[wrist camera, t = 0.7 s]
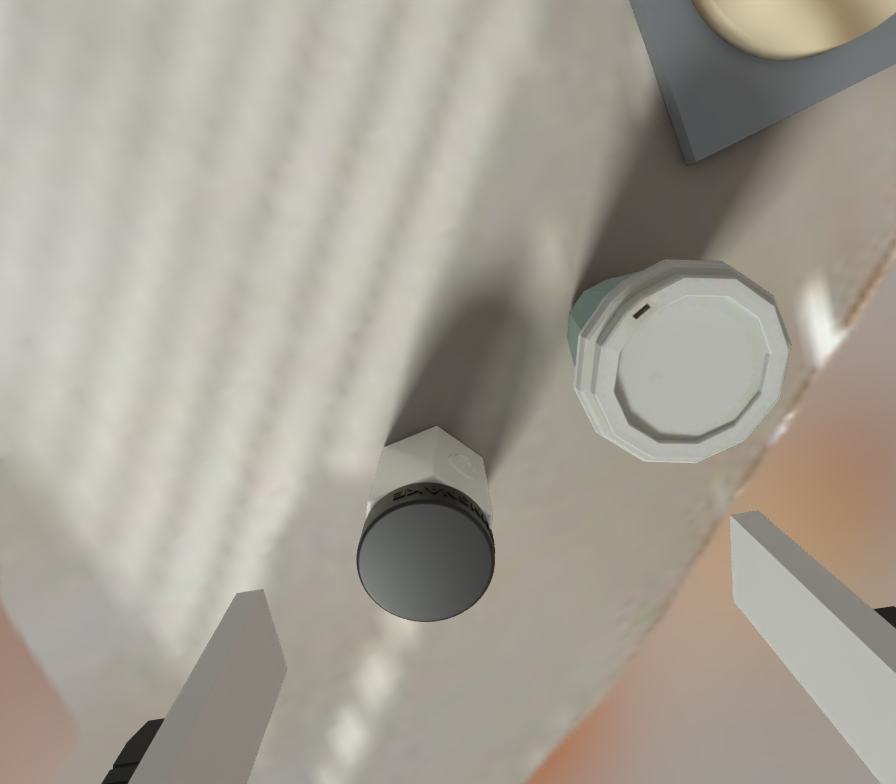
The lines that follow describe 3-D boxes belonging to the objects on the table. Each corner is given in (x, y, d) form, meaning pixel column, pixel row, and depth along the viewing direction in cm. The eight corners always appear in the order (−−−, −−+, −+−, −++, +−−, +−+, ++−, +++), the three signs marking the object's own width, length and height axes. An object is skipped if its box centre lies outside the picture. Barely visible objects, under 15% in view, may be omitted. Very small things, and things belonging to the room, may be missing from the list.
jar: (506, 470, 43) (530, 554, 32) (445, 544, 45) (446, 649, 33) (414, 405, 42) (404, 468, 30) (354, 485, 44) (322, 573, 32)
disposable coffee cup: (709, 329, 41) (856, 378, 26) (596, 425, 42) (675, 520, 28) (619, 220, 38) (725, 207, 24) (504, 325, 40) (538, 372, 26)
